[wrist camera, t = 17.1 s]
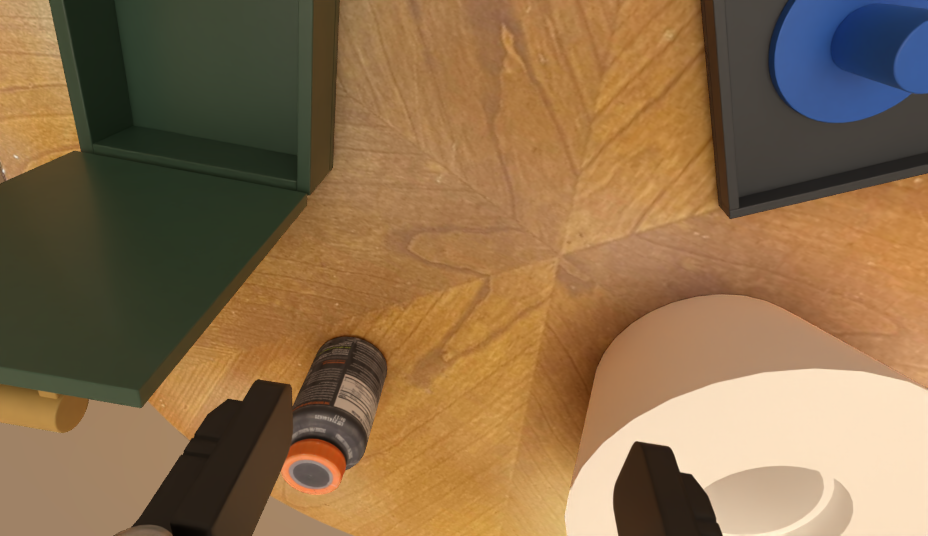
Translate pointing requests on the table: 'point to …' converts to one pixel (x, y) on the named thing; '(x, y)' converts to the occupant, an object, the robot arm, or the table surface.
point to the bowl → (757, 423)
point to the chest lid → (118, 277)
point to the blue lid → (849, 56)
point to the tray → (791, 124)
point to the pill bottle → (334, 414)
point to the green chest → (205, 84)
